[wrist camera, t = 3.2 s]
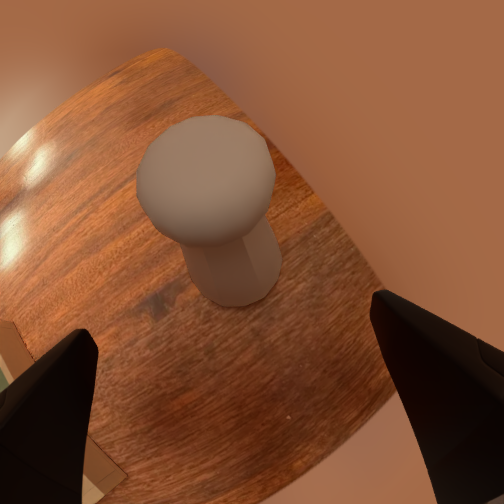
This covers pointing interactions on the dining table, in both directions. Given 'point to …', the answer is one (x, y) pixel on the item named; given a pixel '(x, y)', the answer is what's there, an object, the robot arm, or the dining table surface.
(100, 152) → the dining table surface
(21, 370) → the beige wooden divided tray
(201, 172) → the salt shaker
